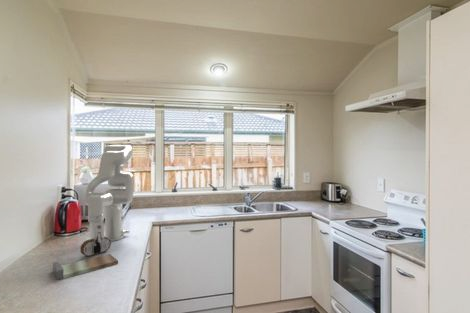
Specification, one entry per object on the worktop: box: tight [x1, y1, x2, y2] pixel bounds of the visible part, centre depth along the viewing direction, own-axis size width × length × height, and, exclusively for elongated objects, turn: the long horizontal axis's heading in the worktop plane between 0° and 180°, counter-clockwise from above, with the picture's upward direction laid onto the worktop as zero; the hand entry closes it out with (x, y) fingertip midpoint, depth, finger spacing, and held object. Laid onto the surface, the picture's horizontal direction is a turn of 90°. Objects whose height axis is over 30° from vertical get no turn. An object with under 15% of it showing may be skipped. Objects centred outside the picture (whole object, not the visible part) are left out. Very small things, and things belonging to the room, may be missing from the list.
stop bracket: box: [52, 261, 63, 281], centre depth 118 cm, size 2×12×4 cm, turn 43°
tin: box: [79, 237, 112, 257], centre depth 143 cm, size 15×3×8 cm, turn 140°
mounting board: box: [61, 253, 119, 280], centre depth 127 cm, size 23×12×2 cm, turn 133°
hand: (96, 251), depth 143 cm, fingers closed on tin, 3 cm apart
